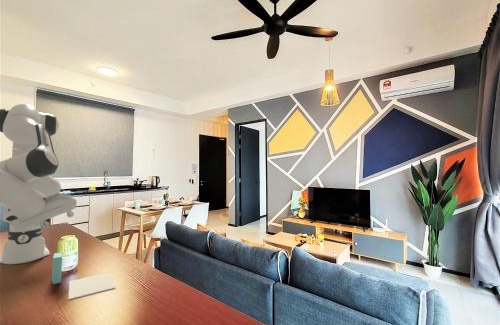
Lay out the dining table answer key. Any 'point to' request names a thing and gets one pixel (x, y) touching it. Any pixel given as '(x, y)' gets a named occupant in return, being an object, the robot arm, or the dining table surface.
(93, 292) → the mat
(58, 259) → the slab
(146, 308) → the dining table surface
